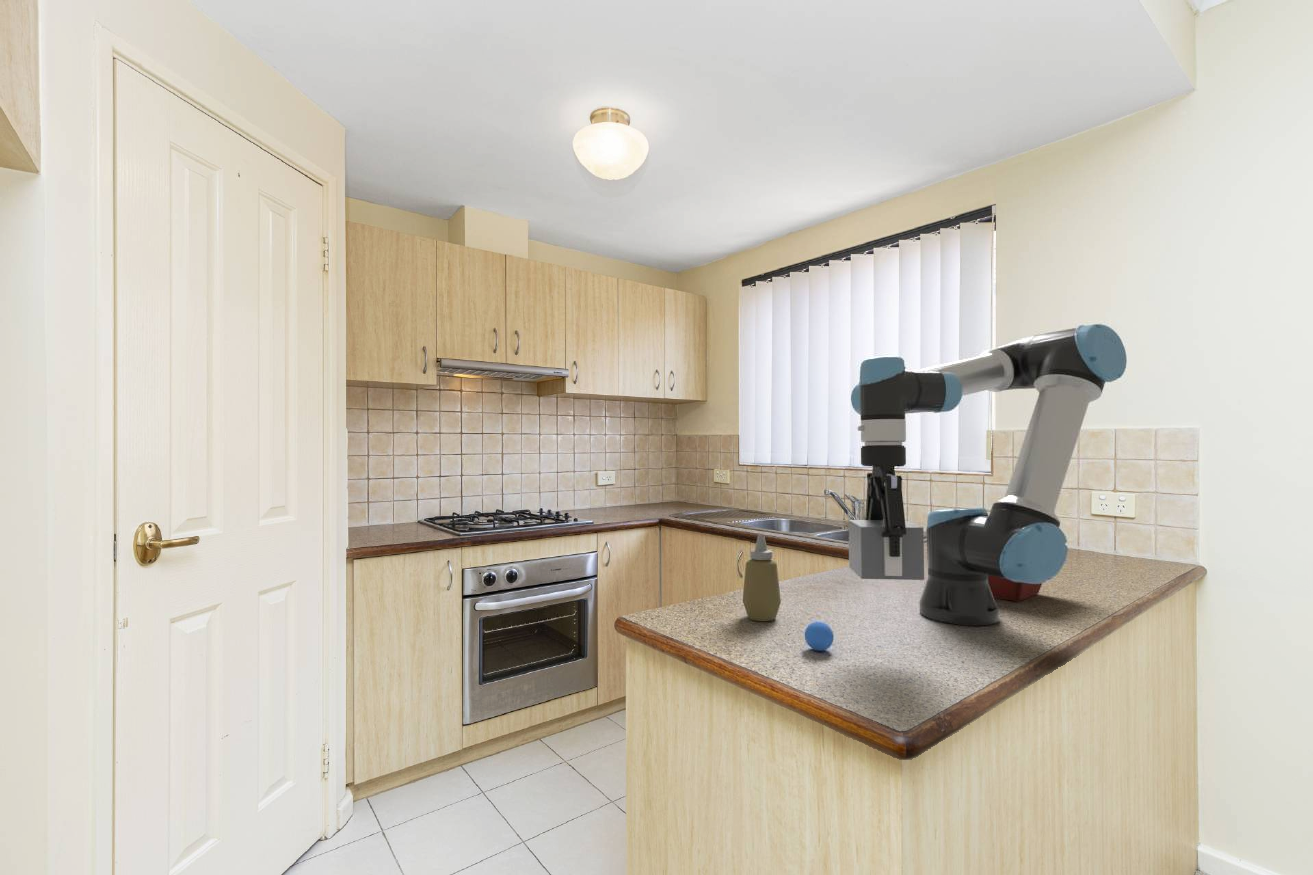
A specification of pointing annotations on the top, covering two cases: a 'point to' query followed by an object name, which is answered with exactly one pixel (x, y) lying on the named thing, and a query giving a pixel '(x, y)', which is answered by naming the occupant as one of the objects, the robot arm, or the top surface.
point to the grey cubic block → (870, 550)
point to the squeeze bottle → (761, 584)
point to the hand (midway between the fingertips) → (884, 568)
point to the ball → (819, 636)
